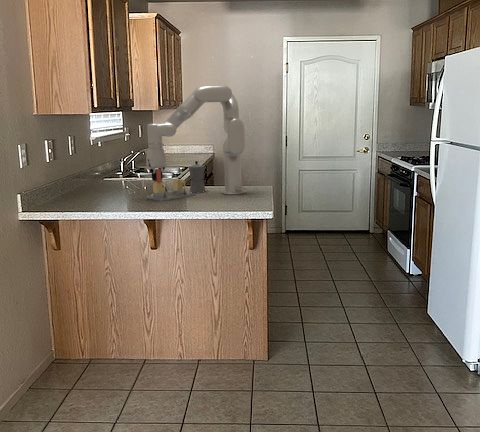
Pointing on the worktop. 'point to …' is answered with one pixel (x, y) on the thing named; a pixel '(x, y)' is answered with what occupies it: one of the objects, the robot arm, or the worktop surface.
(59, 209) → the worktop surface
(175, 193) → the gauge plate
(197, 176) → the coffeepot
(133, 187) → the worktop surface
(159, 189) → the block
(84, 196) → the worktop surface
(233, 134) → the robot arm
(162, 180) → the grey stapler
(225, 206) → the worktop surface
